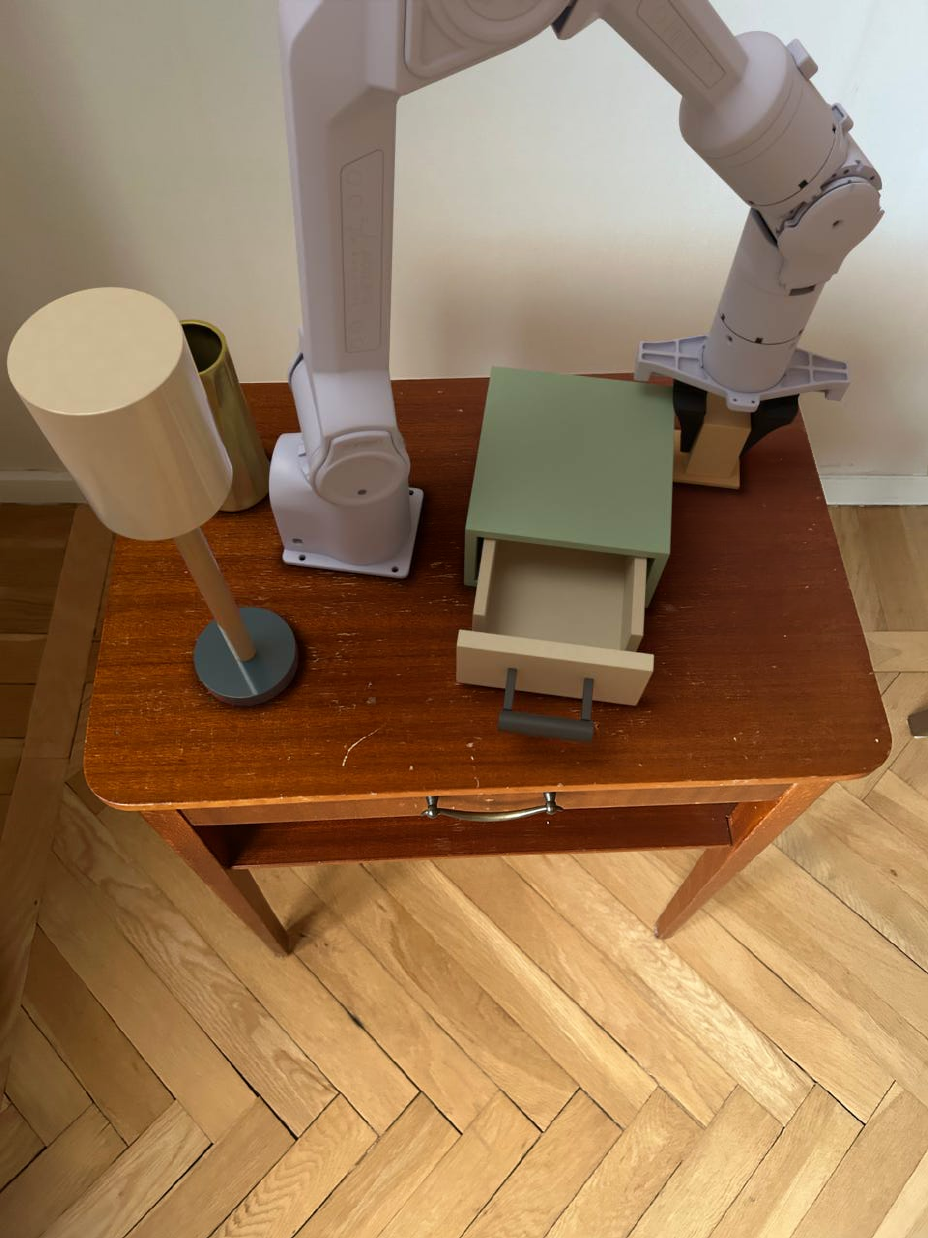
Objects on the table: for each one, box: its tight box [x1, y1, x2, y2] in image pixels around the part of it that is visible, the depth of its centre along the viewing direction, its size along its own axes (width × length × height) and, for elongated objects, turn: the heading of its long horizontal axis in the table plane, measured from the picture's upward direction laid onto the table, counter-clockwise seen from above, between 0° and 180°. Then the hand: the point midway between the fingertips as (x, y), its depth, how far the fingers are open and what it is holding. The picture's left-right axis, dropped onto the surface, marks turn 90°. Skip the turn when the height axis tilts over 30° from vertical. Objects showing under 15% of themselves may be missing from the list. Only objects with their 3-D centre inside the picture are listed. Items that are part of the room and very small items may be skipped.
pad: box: [673, 429, 741, 490], centre depth 70 cm, size 6×5×1 cm
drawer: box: [455, 537, 655, 745], centre depth 60 cm, size 18×12×6 cm
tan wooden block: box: [685, 392, 751, 479], centre depth 68 cm, size 4×4×6 cm
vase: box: [179, 319, 271, 512], centre depth 63 cm, size 6×6×14 cm
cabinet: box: [463, 365, 676, 609], centre depth 65 cm, size 15×14×8 cm
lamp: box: [6, 286, 300, 707], centre depth 49 cm, size 7×7×30 cm
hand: (711, 445), depth 69 cm, fingers closed on tan wooden block, 3 cm apart
